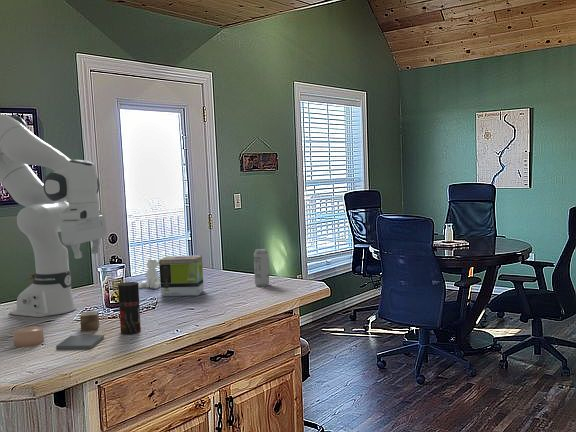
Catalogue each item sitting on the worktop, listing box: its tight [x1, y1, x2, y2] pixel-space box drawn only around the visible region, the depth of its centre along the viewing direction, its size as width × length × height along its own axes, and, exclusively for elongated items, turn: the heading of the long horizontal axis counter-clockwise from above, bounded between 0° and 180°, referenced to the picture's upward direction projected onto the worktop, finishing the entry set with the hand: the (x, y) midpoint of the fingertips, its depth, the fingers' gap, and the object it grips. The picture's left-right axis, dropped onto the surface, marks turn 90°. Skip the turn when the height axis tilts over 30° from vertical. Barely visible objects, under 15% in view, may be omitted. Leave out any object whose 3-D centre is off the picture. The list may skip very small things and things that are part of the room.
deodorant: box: [117, 281, 142, 336], centre depth 178 cm, size 6×6×15 cm
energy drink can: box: [253, 248, 270, 287], centre depth 242 cm, size 6×6×15 cm
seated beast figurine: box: [138, 258, 161, 290], centre depth 246 cm, size 10×9×12 cm
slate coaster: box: [55, 334, 105, 350], centre depth 167 cm, size 10×10×1 cm
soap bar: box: [12, 325, 45, 348], centre depth 170 cm, size 8×8×4 cm
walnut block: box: [79, 310, 100, 333], centre depth 183 cm, size 5×5×5 cm
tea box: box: [158, 254, 204, 297], centre depth 230 cm, size 15×10×15 cm, turn 84°
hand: (86, 255), depth 182 cm, fingers open, 8 cm apart
